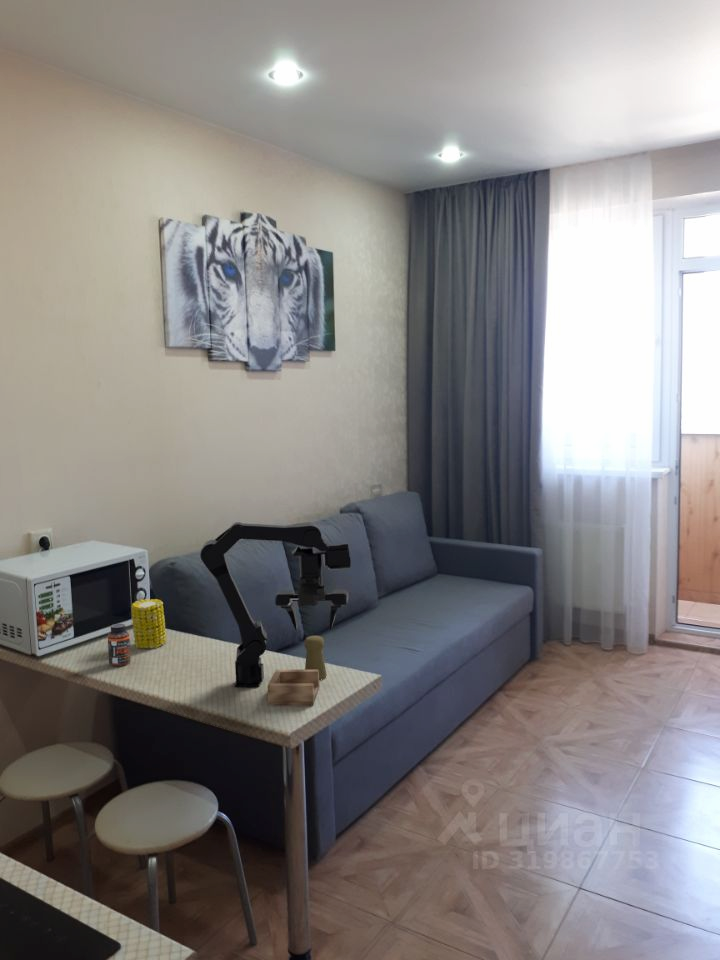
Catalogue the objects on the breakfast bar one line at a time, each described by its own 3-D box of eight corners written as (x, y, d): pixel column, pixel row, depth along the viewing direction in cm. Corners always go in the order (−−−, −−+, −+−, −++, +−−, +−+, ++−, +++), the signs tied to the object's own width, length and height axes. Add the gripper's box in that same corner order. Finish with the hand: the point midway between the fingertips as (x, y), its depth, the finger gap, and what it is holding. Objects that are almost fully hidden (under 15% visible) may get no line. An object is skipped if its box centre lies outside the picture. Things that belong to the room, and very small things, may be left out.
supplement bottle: (118, 668, 209) (115, 629, 208) (104, 665, 213) (102, 626, 212) (135, 662, 214) (132, 624, 213) (121, 659, 218) (119, 621, 217)
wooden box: (267, 705, 180) (266, 686, 179) (277, 687, 192) (276, 668, 191) (313, 705, 179) (312, 686, 179) (319, 686, 191) (318, 668, 190)
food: (168, 644, 235) (158, 657, 225) (132, 637, 235) (120, 649, 225) (176, 599, 232) (166, 609, 222) (139, 591, 232) (127, 601, 223)
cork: (331, 675, 199) (329, 635, 198) (318, 682, 194) (317, 641, 193) (312, 671, 202) (310, 632, 201) (299, 679, 197) (298, 638, 196)
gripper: (269, 578, 188) (272, 639, 189) (343, 577, 186) (345, 638, 188) (278, 569, 199) (280, 626, 200) (347, 568, 197) (349, 625, 199)
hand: (313, 629), depth 197 cm, fingers open, 9 cm apart
